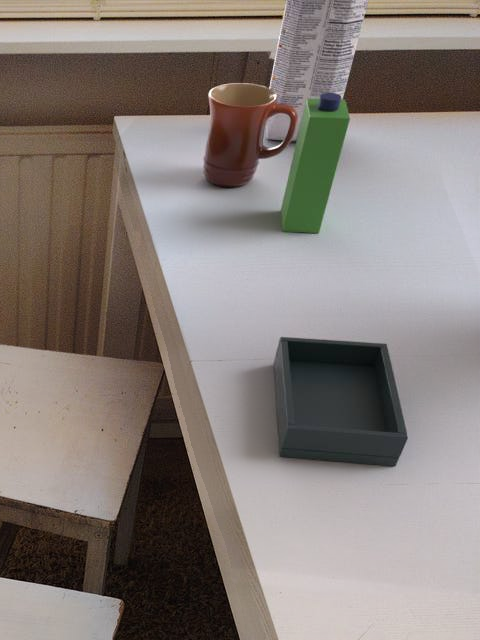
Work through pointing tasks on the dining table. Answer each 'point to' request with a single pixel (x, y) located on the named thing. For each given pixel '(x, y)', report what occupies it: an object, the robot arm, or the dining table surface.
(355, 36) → the juice carton
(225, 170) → the mug
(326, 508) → the dining table surface
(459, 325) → the dining table surface
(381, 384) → the dark grey tray
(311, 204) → the green drink carton
